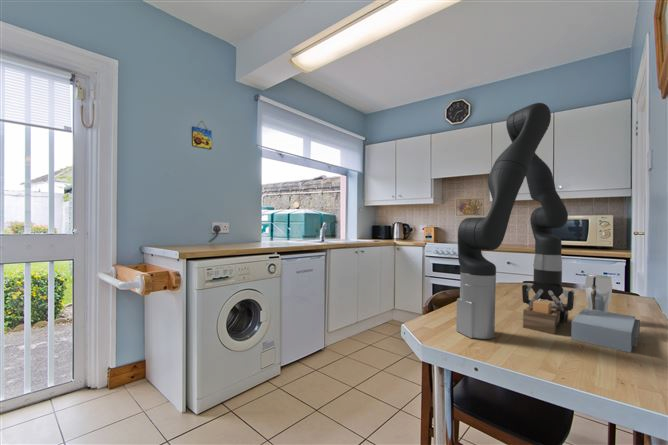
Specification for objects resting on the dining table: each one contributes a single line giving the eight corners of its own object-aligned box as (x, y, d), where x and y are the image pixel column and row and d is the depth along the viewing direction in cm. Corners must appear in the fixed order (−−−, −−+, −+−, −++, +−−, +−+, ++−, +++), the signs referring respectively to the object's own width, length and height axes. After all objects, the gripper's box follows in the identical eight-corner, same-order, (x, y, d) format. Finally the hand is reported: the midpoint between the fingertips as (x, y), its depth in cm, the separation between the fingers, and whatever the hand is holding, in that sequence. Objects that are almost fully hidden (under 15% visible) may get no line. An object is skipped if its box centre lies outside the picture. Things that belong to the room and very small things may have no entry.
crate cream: (557, 310, 101) (557, 298, 101) (542, 308, 104) (543, 296, 104) (559, 308, 104) (560, 296, 104) (545, 306, 107) (545, 294, 107)
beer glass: (617, 323, 102) (618, 278, 102) (595, 323, 102) (596, 277, 102) (599, 317, 109) (600, 274, 109) (579, 316, 109) (580, 274, 109)
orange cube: (548, 317, 92) (548, 304, 92) (532, 314, 95) (532, 301, 95) (551, 315, 95) (551, 302, 95) (536, 312, 98) (536, 299, 98)
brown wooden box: (554, 334, 90) (554, 315, 90) (523, 327, 95) (523, 309, 95) (568, 321, 104) (568, 304, 104) (540, 315, 109) (540, 299, 109)
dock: (636, 354, 77) (636, 333, 77) (571, 339, 86) (571, 321, 86) (639, 334, 92) (640, 317, 92) (583, 323, 101) (584, 308, 101)
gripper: (577, 270, 97) (576, 323, 97) (525, 265, 107) (524, 312, 107) (573, 272, 92) (572, 328, 92) (519, 266, 102) (518, 316, 102)
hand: (546, 319), depth 100 cm, fingers open, 7 cm apart
